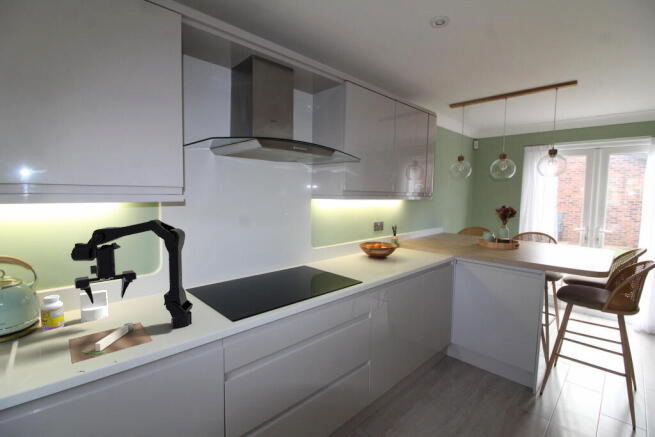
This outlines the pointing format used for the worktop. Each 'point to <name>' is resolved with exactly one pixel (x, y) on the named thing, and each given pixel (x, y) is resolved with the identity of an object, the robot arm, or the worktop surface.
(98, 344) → the dial needle
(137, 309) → the worktop surface
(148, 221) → the robot arm
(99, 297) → the white open-front box
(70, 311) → the worktop surface
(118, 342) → the board
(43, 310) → the supplement bottle
